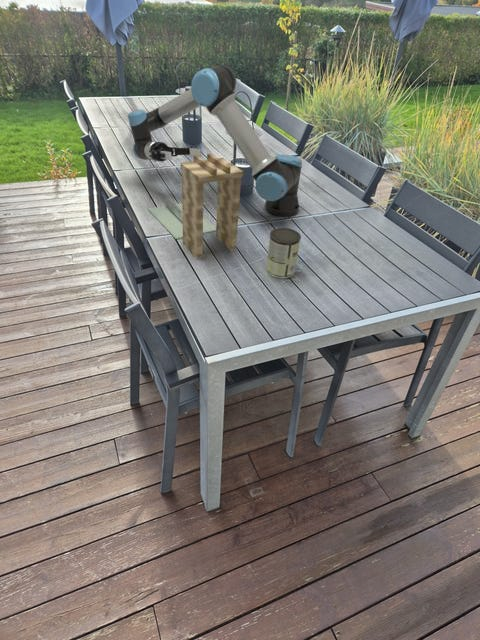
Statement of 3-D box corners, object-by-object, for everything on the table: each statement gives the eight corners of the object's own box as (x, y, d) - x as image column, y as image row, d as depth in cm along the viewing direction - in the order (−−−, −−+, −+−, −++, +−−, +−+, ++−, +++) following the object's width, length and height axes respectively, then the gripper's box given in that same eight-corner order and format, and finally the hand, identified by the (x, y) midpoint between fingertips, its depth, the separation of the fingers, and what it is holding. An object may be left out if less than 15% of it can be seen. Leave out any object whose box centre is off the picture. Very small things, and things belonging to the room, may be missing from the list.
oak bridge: (181, 242, 164) (180, 156, 144) (219, 234, 171) (222, 151, 151) (198, 260, 155) (199, 171, 135) (237, 251, 162) (243, 165, 142)
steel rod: (164, 206, 186) (165, 199, 185) (171, 206, 188) (171, 199, 186) (188, 230, 171) (190, 223, 169) (195, 230, 172) (196, 223, 171)
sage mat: (148, 210, 184) (148, 208, 184) (187, 203, 192) (187, 202, 192) (176, 239, 166) (176, 238, 166) (217, 231, 174) (217, 229, 173)
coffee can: (269, 260, 159) (273, 225, 150) (297, 266, 157) (303, 230, 148) (262, 275, 151) (267, 238, 142) (291, 281, 149) (298, 244, 140)
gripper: (183, 158, 193) (211, 161, 178) (131, 164, 179) (158, 168, 164) (181, 139, 189) (210, 141, 175) (129, 144, 175) (156, 146, 161)
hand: (185, 154), depth 169 cm, fingers open, 13 cm apart
